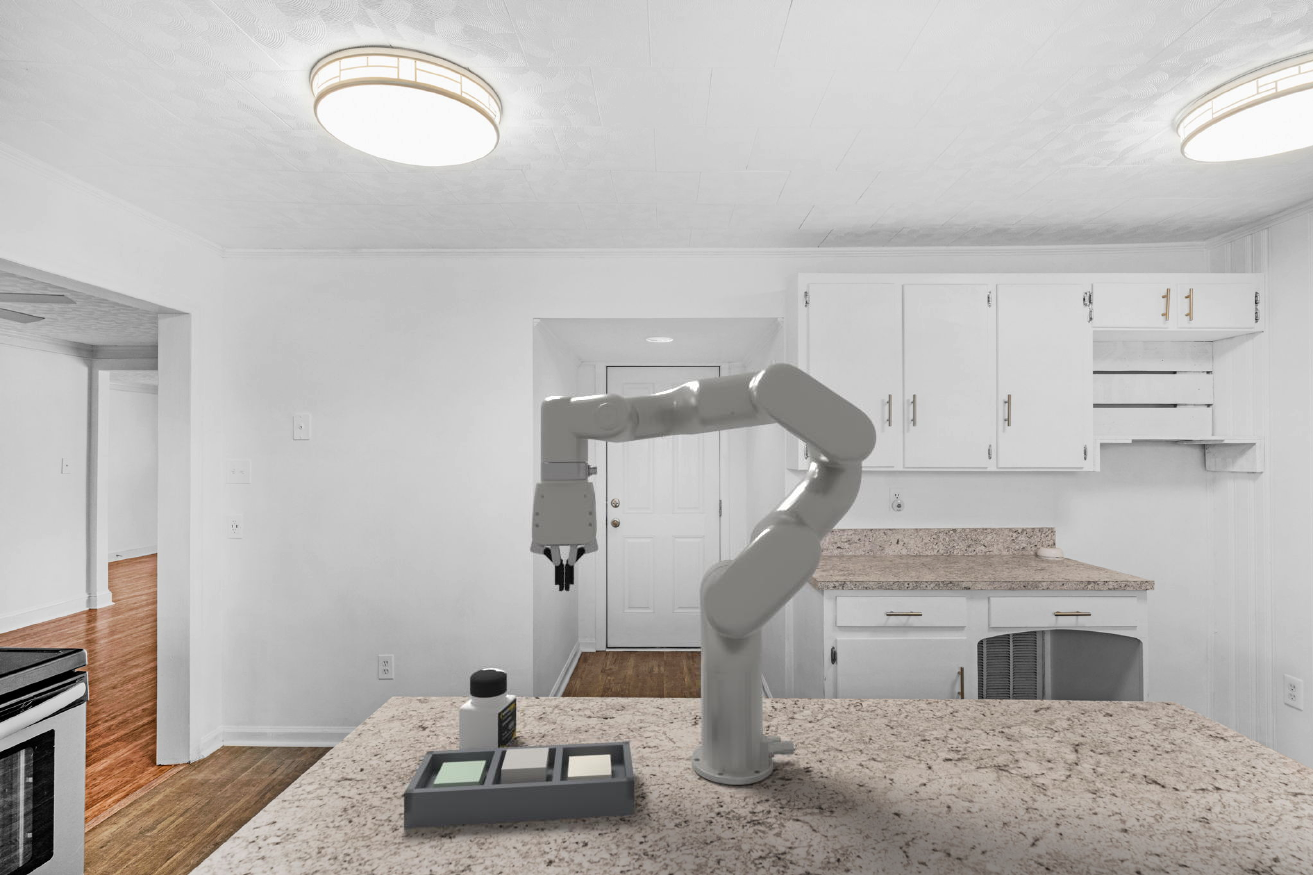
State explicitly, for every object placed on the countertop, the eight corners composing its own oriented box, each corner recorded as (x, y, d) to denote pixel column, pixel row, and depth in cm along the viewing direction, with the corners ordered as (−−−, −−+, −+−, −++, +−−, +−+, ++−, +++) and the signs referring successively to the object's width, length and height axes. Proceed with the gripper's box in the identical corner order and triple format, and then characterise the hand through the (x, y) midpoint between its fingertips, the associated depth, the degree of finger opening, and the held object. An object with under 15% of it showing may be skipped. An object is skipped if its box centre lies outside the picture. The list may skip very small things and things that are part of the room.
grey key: (548, 761, 94) (548, 747, 95) (545, 781, 88) (545, 767, 89) (507, 763, 94) (507, 749, 94) (501, 784, 88) (501, 769, 88)
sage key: (486, 774, 94) (486, 760, 94) (478, 796, 88) (478, 781, 88) (443, 776, 93) (443, 762, 93) (433, 798, 87) (433, 783, 87)
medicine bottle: (498, 755, 104) (499, 680, 104) (458, 751, 105) (458, 677, 106) (517, 736, 111) (517, 666, 111) (478, 733, 112) (478, 663, 113)
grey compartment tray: (629, 771, 99) (629, 741, 99) (634, 814, 87) (634, 780, 87) (427, 781, 96) (427, 751, 96) (403, 828, 84) (404, 793, 84)
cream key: (610, 768, 95) (610, 754, 95) (611, 789, 89) (611, 774, 89) (569, 770, 95) (569, 756, 95) (567, 791, 89) (567, 776, 89)
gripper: (610, 473, 107) (610, 583, 107) (519, 473, 106) (519, 585, 105) (612, 474, 100) (612, 593, 99) (514, 474, 98) (513, 595, 98)
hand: (564, 589), depth 102 cm, fingers closed
